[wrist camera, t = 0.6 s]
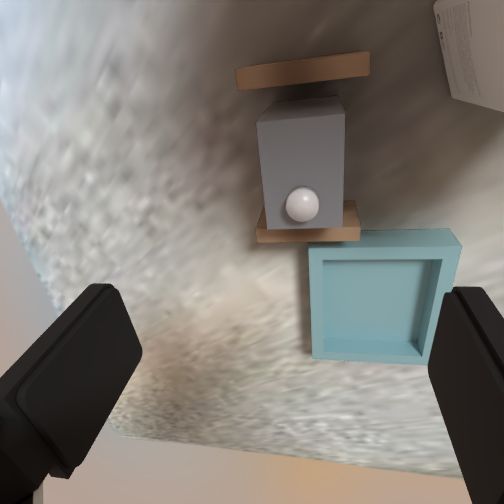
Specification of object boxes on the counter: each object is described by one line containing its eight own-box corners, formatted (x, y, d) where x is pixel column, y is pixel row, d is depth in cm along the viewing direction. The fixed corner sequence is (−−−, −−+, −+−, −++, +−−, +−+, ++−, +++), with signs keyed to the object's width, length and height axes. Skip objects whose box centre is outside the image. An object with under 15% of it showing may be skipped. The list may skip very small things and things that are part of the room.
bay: (361, 50, 23) (370, 51, 19) (354, 213, 29) (359, 240, 25) (249, 66, 25) (234, 69, 20) (265, 216, 31) (257, 242, 27)
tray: (449, 228, 28) (462, 246, 26) (425, 343, 35) (433, 365, 33) (309, 231, 31) (308, 248, 28) (312, 338, 38) (312, 359, 36)
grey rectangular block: (338, 95, 25) (346, 116, 17) (337, 184, 28) (343, 234, 21) (272, 102, 26) (252, 125, 18) (279, 187, 29) (265, 236, 22)
